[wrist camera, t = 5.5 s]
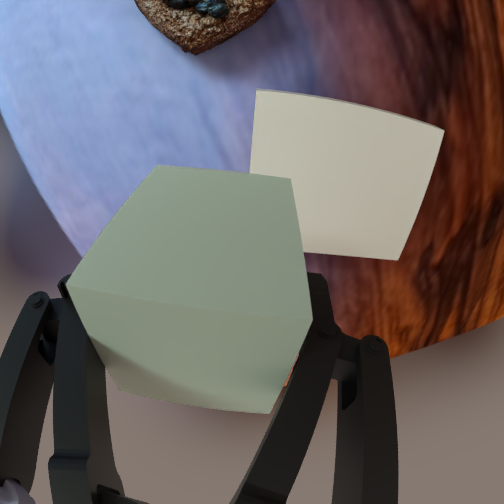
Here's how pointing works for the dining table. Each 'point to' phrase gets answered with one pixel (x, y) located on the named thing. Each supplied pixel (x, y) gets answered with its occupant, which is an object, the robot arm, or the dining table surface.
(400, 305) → the dining table surface
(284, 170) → the serving stand
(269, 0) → the pastry
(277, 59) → the dining table surface
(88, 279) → the sage block
